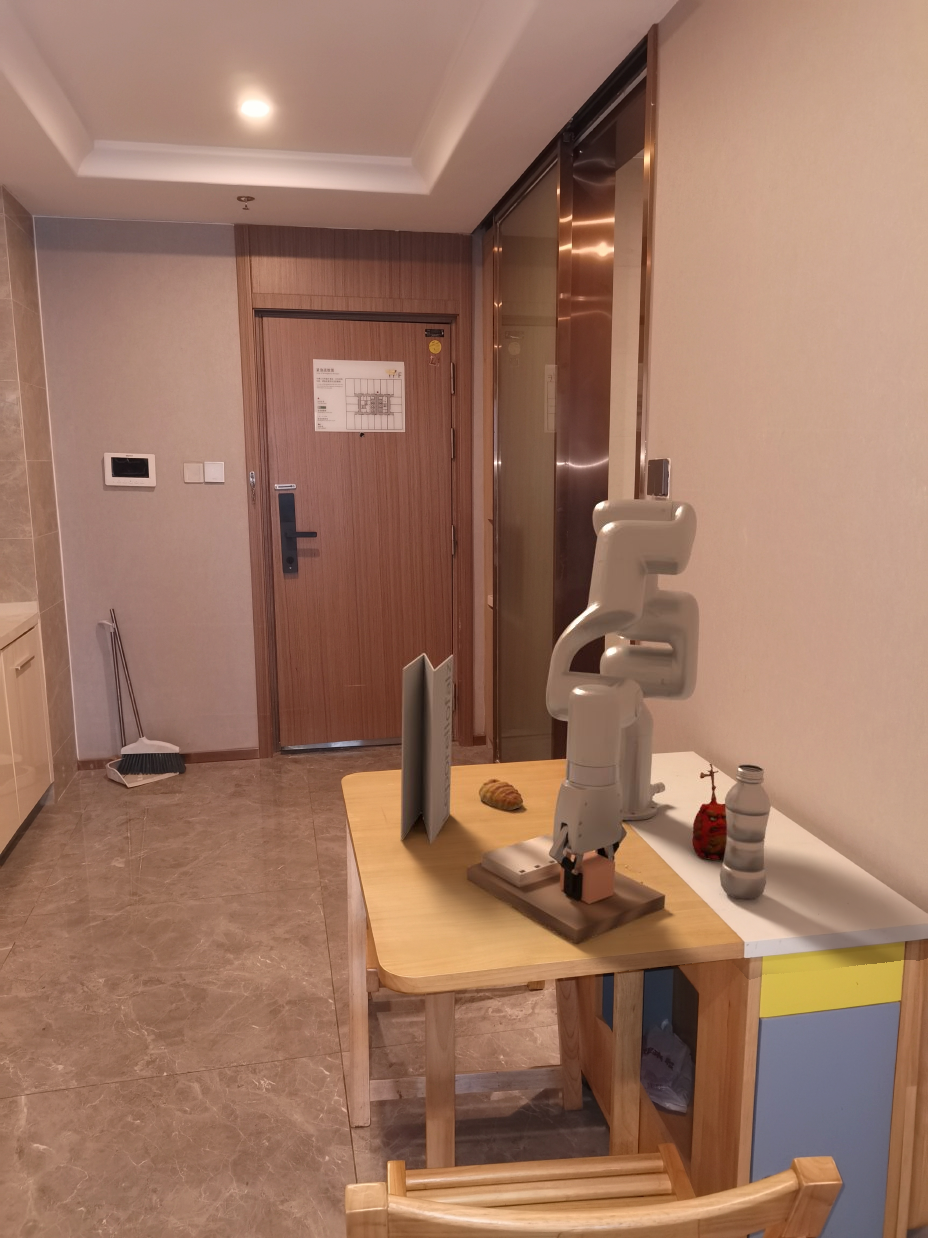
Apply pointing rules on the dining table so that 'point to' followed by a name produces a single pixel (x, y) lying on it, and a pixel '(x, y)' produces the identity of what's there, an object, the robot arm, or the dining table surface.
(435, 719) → the brochure
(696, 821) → the red clay folk toy
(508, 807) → the pastry
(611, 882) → the salmon upright block
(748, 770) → the plastic bottle
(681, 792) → the dining table surface
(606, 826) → the robot arm
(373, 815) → the dining table surface
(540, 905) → the wooden base board
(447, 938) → the dining table surface
